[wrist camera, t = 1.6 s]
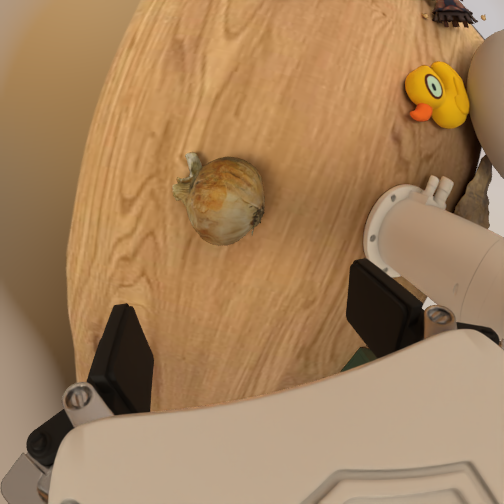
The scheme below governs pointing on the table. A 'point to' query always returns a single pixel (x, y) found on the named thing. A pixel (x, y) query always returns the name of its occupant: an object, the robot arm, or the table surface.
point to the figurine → (452, 13)
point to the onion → (221, 198)
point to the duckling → (438, 95)
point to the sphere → (488, 97)
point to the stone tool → (477, 196)
